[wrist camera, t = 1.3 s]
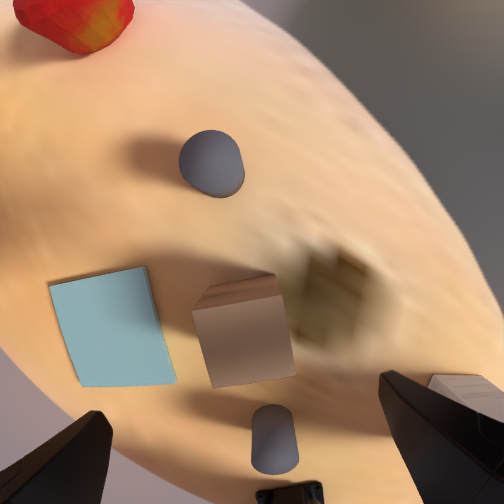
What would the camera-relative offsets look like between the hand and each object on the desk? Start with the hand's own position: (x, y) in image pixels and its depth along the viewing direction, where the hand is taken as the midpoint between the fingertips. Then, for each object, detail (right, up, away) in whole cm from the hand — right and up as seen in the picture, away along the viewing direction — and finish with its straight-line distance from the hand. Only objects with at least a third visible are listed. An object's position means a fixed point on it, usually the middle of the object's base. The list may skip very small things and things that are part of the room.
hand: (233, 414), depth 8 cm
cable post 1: (-2, +10, +12) cm, 16 cm away
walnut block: (0, +1, +13) cm, 13 cm away
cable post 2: (+2, -9, +13) cm, 16 cm away
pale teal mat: (-10, -1, +13) cm, 17 cm away
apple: (-13, +25, +11) cm, 30 cm away
